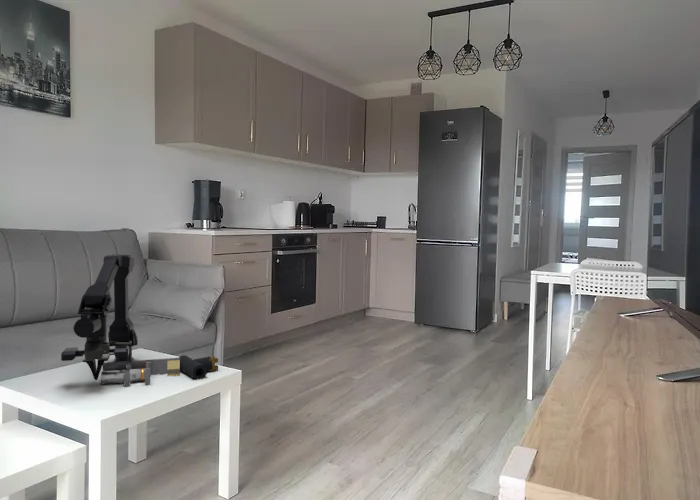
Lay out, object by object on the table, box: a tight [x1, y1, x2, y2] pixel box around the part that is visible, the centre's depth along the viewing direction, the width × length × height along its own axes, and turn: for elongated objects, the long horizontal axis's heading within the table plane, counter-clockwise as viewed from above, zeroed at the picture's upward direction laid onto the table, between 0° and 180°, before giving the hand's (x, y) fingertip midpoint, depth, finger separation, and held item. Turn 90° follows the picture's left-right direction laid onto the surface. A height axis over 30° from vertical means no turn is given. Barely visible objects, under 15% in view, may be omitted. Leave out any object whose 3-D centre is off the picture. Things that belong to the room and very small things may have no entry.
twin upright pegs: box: [123, 361, 152, 388], centre depth 164 cm, size 10×8×5 cm
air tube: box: [100, 368, 145, 385], centre depth 163 cm, size 14×4×4 cm, turn 111°
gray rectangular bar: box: [102, 357, 181, 377], centre depth 169 cm, size 4×24×5 cm, turn 110°
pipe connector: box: [178, 354, 219, 380], centre depth 176 cm, size 12×5×15 cm
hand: (96, 379), depth 160 cm, fingers closed
